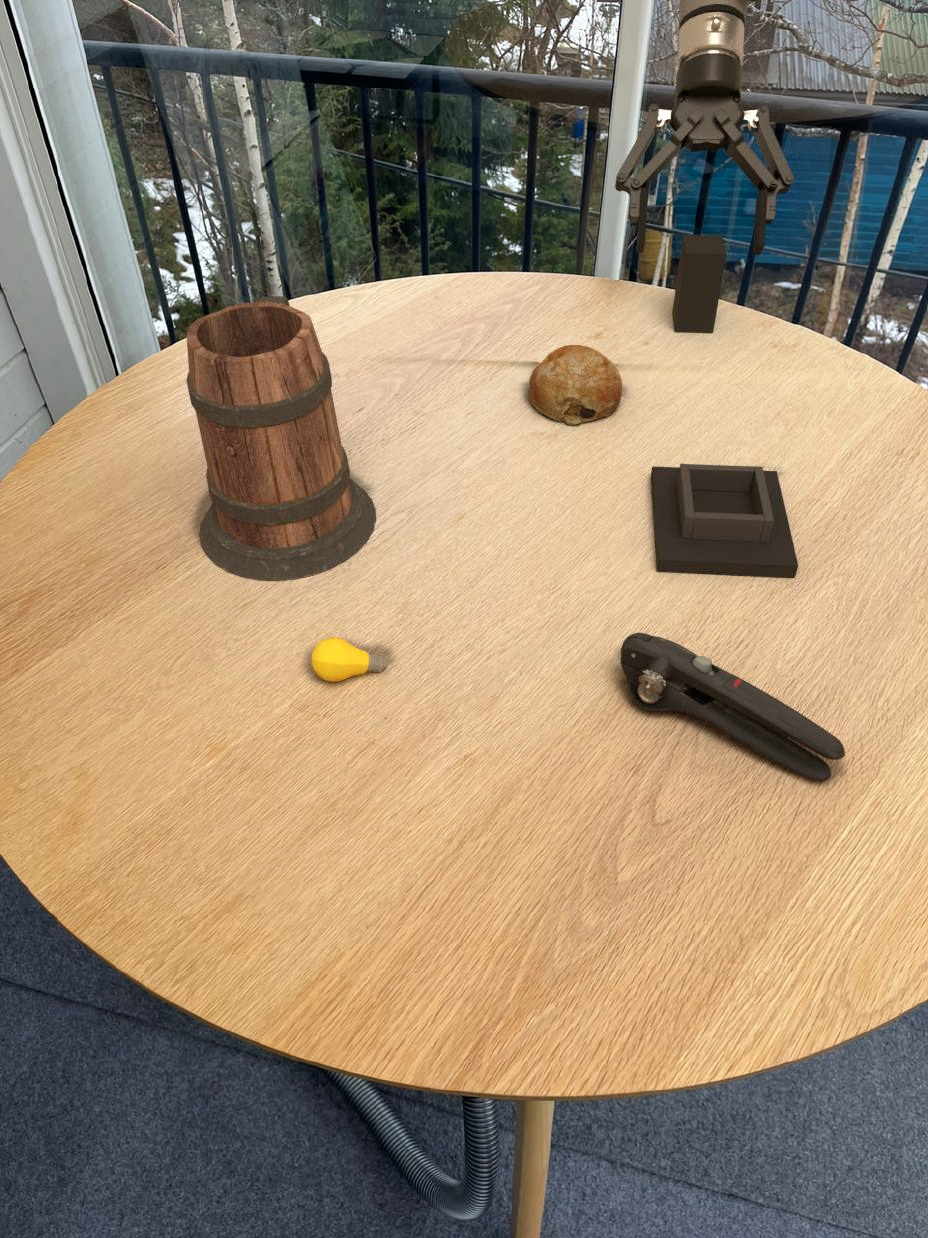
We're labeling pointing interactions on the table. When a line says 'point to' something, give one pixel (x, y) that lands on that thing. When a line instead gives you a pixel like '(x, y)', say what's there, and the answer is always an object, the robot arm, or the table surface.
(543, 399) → the bread roll
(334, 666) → the light bulb
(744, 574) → the base pad
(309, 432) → the tankard
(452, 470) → the table surface
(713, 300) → the tall dark pillar
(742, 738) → the can opener
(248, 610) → the table surface
